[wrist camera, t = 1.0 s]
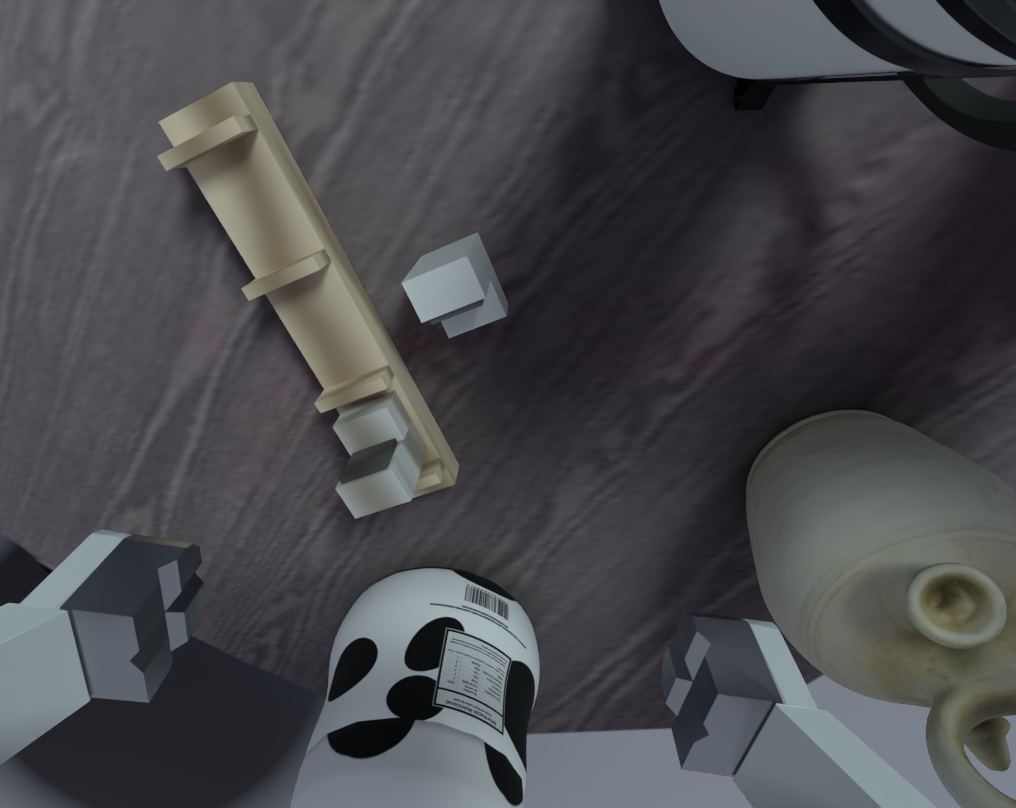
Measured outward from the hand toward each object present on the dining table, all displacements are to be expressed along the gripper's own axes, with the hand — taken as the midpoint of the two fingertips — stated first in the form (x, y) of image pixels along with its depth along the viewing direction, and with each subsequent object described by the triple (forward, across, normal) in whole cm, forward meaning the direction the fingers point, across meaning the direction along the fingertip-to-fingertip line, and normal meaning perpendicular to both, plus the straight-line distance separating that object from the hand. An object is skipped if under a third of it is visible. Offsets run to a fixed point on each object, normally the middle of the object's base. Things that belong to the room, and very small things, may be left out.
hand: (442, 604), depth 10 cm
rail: (+30, +10, +7) cm, 33 cm away
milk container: (+31, 0, +35) cm, 47 cm away
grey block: (+30, +2, +3) cm, 31 cm away
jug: (+30, -27, +13) cm, 42 cm away
